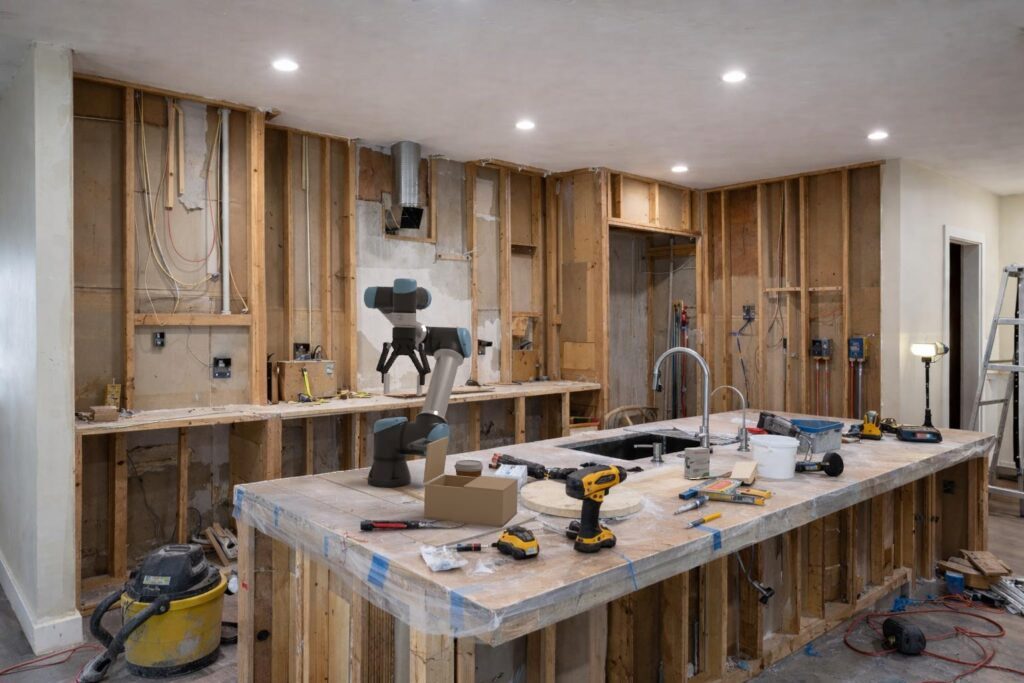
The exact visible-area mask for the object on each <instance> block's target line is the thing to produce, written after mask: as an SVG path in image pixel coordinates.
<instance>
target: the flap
mask: <svg viewBox="0 0 1024 683" xmlns="http://www.w3.org/2000/svg"><path fill="white" fill-rule="evenodd" d="M424 444H427V446H422V445H424ZM447 444H448V437H444V438H442V439H439V440H437V441H432V440H427V439H426V438H422V439H419V440H416V441H413V442H410V443H408V444H407V448H408V449H410V450H411V449H417V450H422V451H427V453H426V456H425V461H424V462H425V464H424V471H423V481H422V483H423V484H427V483H429V482H431V481H433V480H434V479H436V478H438V477H440V476H442V475H444V474H445V468H446V462H447V461H446V460H447V450H448V447H447ZM448 445H449V444H448Z"/></svg>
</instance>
